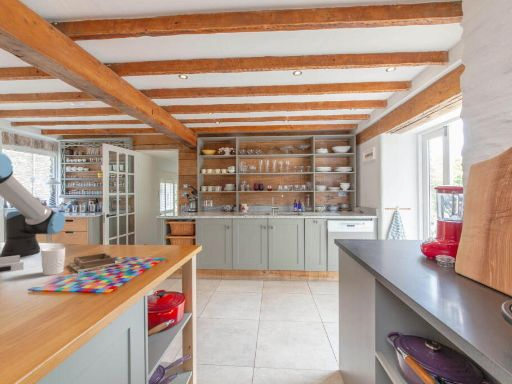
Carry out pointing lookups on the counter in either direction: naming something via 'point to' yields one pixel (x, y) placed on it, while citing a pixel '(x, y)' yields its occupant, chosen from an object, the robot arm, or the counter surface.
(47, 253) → the white cup
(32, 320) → the counter surface
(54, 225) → the robot arm
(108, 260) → the cup holder
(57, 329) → the counter surface
